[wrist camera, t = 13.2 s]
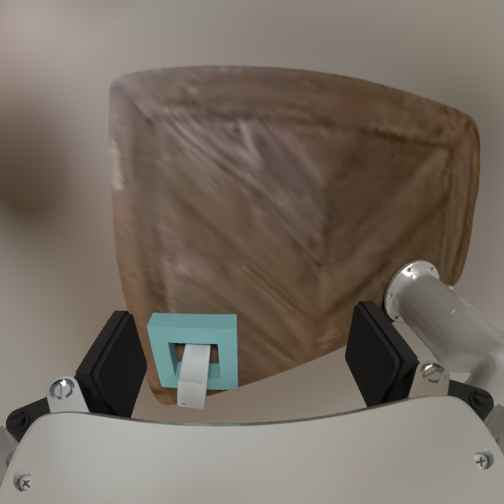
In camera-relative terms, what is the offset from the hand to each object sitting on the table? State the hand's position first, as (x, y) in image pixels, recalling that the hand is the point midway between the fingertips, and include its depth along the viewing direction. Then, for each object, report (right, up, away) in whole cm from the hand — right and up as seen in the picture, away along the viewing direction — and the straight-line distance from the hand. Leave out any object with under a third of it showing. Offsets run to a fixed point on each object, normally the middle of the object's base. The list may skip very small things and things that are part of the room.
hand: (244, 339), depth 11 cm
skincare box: (-9, -13, +36) cm, 39 cm away
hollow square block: (-9, -13, +36) cm, 39 cm away
